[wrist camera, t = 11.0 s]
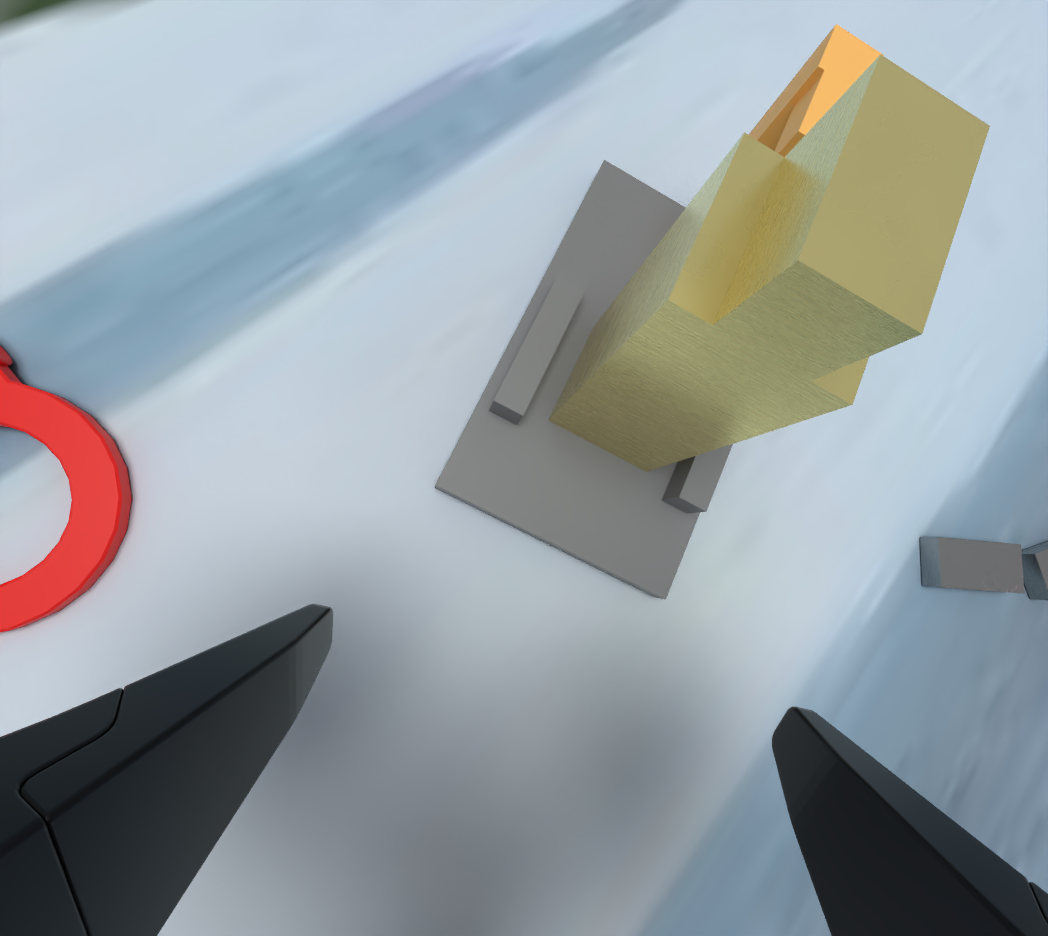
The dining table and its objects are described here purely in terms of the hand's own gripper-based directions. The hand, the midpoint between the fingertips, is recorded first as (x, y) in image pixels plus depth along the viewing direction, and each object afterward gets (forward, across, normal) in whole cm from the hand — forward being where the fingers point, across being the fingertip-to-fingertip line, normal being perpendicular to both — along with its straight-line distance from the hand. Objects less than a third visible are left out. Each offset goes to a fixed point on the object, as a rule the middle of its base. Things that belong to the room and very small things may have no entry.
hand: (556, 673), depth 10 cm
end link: (+13, +2, +2) cm, 14 cm away
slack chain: (+16, +25, -3) cm, 30 cm away
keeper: (+15, +2, +2) cm, 15 cm away
